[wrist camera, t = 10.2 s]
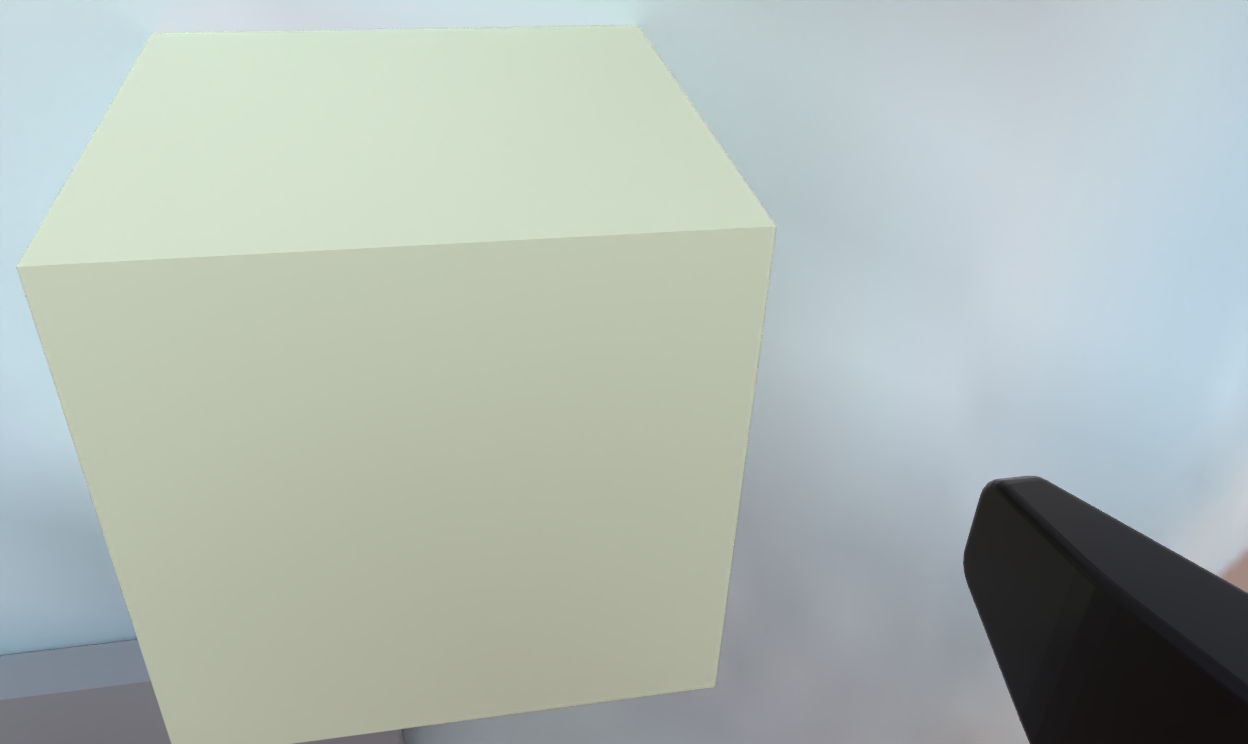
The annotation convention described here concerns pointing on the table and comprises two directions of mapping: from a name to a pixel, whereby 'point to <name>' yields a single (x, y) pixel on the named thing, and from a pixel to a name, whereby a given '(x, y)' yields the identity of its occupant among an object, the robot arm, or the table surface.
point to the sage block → (407, 372)
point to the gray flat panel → (95, 699)
